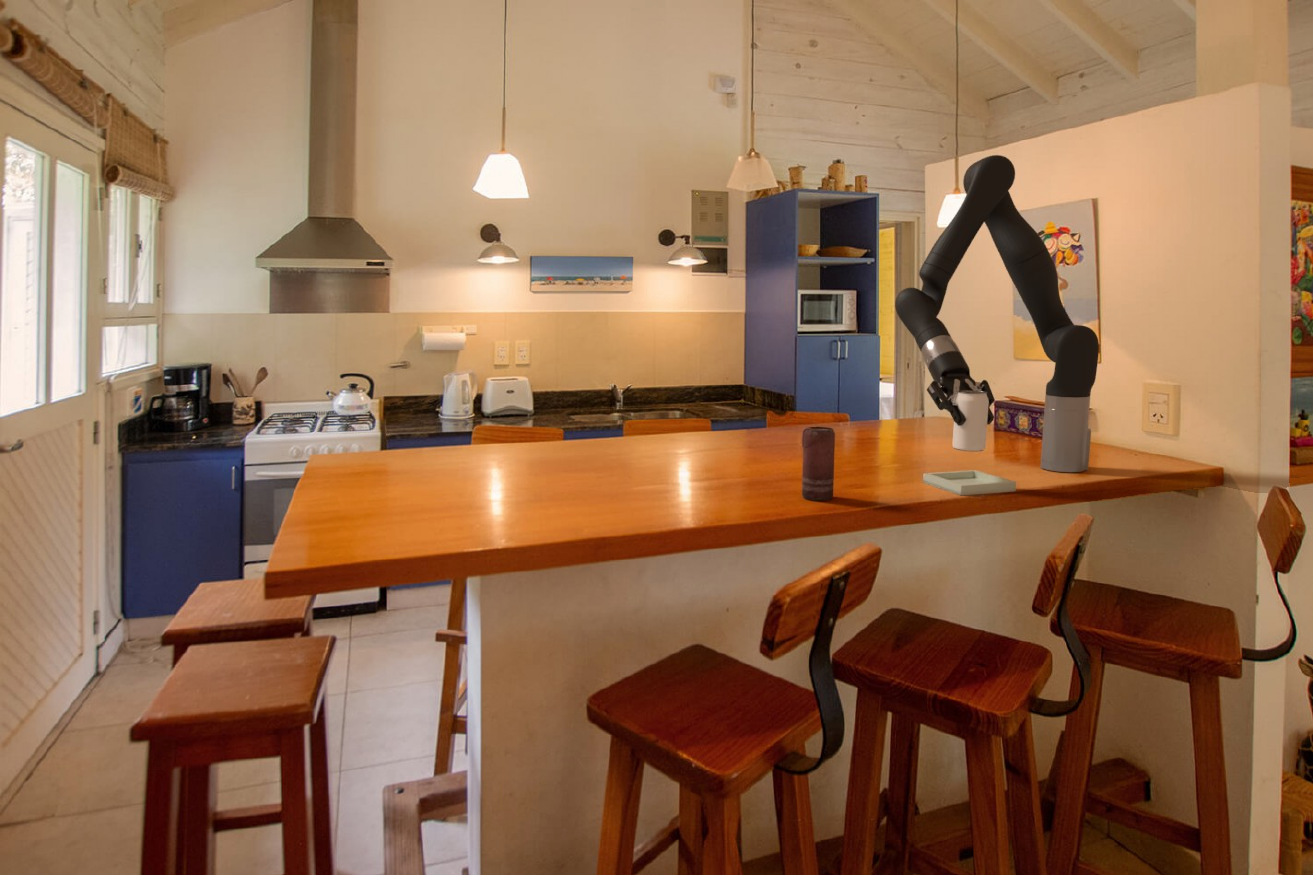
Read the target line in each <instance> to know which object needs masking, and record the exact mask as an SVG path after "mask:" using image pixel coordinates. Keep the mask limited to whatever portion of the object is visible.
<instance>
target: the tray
mask: <svg viewBox="0 0 1313 875" xmlns="http://www.w3.org/2000/svg"><path fill="white" fill-rule="evenodd" d="M923 482H924V483H923ZM922 483H923V484H926V485H928V486H932V487H935V488H938V489H940V490H943V491H947V492H950V493H952V494H956V495H958V496H972V495H986V494H987V495H988V494H999V493H1009V492H1016V491H1017V490H1016V489H1017V481H1015V480H1012V479H1008V478H1004V477H1001V476H997V475H993V474H992V473H991V474H990V473H987V472H984V471H980V470H975V469H972V470H956V471H955V470H954V471H943V472H942V471H939V472H928V473H925V472H924V473H923V474H922Z"/></svg>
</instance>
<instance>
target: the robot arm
mask: <svg viewBox="0 0 1313 875" xmlns="http://www.w3.org/2000/svg"><path fill="white" fill-rule="evenodd" d="M1015 179H1016V169H1015V166H1014V164H1013V162H1012V161H1011V160H1010V159H1009V158H1008V157H1006V156H1005V155H998V154H995V155H994V154H993V155H989V156H986V157H983V158H981V159H979V160H977V161H976V162H973V163H972V164H971V165H970V166H969V167H967V169H966V171H965V173H964V175H963V180H962V181H963V183H962V184H963V189H964V192H965V194H966V195H965V197H964V199H963V201H962V203H961V206H960V207H959V209H958V210H957V212H956V214H954V217H953V218H952V219H951V221H950V222H949V224H948V225H947V226H946V227H945V229H944V230H943V232H942V233H941V234H940V235H939V237H938V239H936V241H935V243H934V244H933V246H932V247H931V249H930V251H929V253H928V255H927V256H926V257H925V260H924V262H923V263H922V265H921V267H920V269H919V273H918V275H919V278H920V279H921V281H922V286H921V289H919V288H916V287H906V288H903V289H902V290H901V291H899V292H898V293H897V296H896V298H895V301H894V302H895V303H894V307H895V312H896V314H897V316H898V317H899V319H900V321H901V322H902V324H903V325H904V326H905V328H906V329H907V331H909V333H910V334H911V335H912V337H913V339H914V340H915V343H916V344H917V347H918V348H919V350H920V352H921V355H922V358H923V360H924V363H925V366H926V367H927V369H928V370H927V371H928V372H929V373H930V376H931V378H932V379H933V380H932V381H931V383H930V384H929V386H928V387H927V389H926V391H927V393H928V395H929V396H930V398H931V399H932V400H933V401H932V402H934V404H935V405H936V407H937V408H938V410H940V411H943V410H946V411H947V413H949V414H950V416H951V418H952V420H953V423H954V422H955V423H957V425H958V426H961V425H963V424H964V423H965V421H966V418H965V416H964V414H963V413H962V412H961V411H960V409H959V407H958V406H957V402H956V397H957V396H958V391H983V392H987V397H988V400H989V404H988V419H987V426H988V425H991V424H992V423H993V421H994V419H995V415H994V413H993V411H992V409H991V408H990V407H991V406H992V404H994V403H995V401H996V400H995V397H994V394H993V392H992V389H991V387H990V384H989V382H988V381H987V380H986V379H983V380H982V381H981V382H980V381H979V382H978V381H975V379H973V378H972V377H971V371H970V370H971V369H970V367H969V365H968V363H967V361H966V359H965V357H964V356H963V354H962V352H961V350H960V348H959V346H958V345H957V344H956V342H955V341H954V339H953V338H952V336H951V334H950V332H949V331H948V328H947V327H946V325H945V323H944V322H943V321H942V320H940V318H938V316H939V315H940V312H941V309H942V306H943V304H944V300H945V296H946V294H947V290H948V287H949V286H948V285H949V282H950V281H951V279H952V278H953V276H954V274H955V273H956V270H957V269H958V267H959V265H960V264H961V263H962V260H963V258H964V256H965V255H966V253H967V251H968V249H969V247H970V246H971V244H972V243H973V241H974V239H975V237H976V236H977V234H978V232H979V231H980V229H981V228H982V226H983V224H985V226H986V228H987V230H988V232H989V234H990V236H991V239H992V241H993V243H994V246H995V248H996V250H997V252H998V254H999V256H1000V258H1001V260H1002V262H1003V265H1004V267H1005V269H1006V271H1007V273H1008V275H1009V278H1010V279H1011V281H1012V283H1013V285H1014V286H1015V289H1016V291H1017V292H1018V294H1019V296H1020V298H1021V300H1022V302H1023V304H1024V306H1025V308H1026V309H1027V311H1028V313H1029V315H1030V317H1031V319H1032V322H1033V324H1034V327H1035V330H1036V332H1037V335H1038V338H1039V340H1040V344H1041V347H1042V349H1043V352H1044V354H1045V355H1046V357H1047V358H1048V359H1049V360H1050V361H1052V362H1053V363H1055V364H1054V371H1053V375H1052V377H1051V379H1050V380H1049V381H1048V382H1047V383H1046V386H1045V398H1044V410H1043V411H1044V412H1043V426H1042V439H1041V440H1042V441H1041V442H1042V443H1041V456H1040V457H1041V458H1040V468H1041V469H1044V470H1047V471H1050V472H1057V473H1058V472H1061V473H1081V472H1085V471H1088V470H1089V467H1090V466H1089V462H1090V451H1091V438H1092V430H1091V428H1089V418H1090V405H1091V393H1092V391H1091V390H1092V388H1093V386H1094V385H1095V382H1096V377H1097V370H1098V363H1099V353H1100V343H1099V337H1098V335H1097V334H1096V332H1095V331H1094V330H1093V328H1090V327H1088V326H1086V325H1085V326H1084V325H1080V324H1074V323H1073V321H1072V320H1071V317H1070V316H1069V314H1068V312H1067V311H1066V309H1065V307H1064V305H1063V303H1062V299H1061V297H1060V290H1059V289H1060V287H1059V278H1058V271H1057V268H1056V265H1055V262H1054V260H1053V258H1052V256H1051V254H1050V251H1049V249H1048V247H1047V245H1046V244H1045V242H1044V240H1043V239H1042V238H1041V236H1040V235H1039V234H1038V232H1037V231H1036V230H1035V229H1034V228H1033V227H1032V226H1031V224H1029V222H1028V221H1027V220H1026V219H1025V218H1024V217H1023V216H1022V215H1021V213H1020V211H1019V210H1018V208H1017V207H1016V205H1015V203H1014V201H1013V198H1012V195H1011V194H1010V191H1009V190H1010V189H1011V188H1012V186H1013V185H1014V182H1015Z"/></svg>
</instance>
